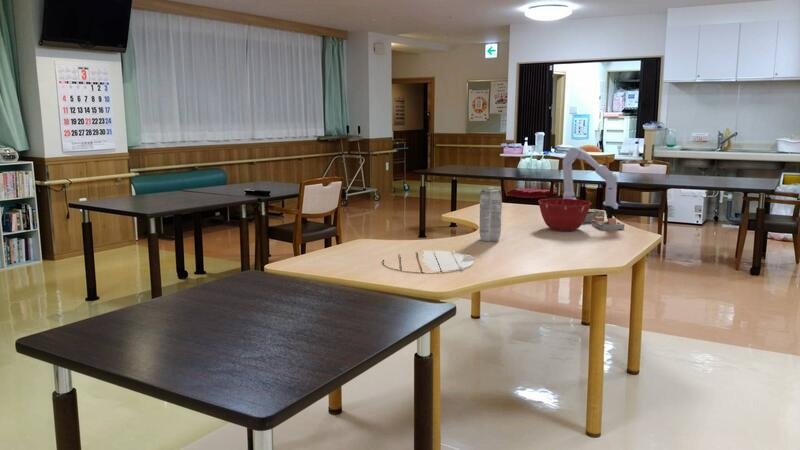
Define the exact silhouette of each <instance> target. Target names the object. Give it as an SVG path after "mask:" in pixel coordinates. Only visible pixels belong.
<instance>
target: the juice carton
mask: <svg viewBox="0 0 800 450" xmlns="http://www.w3.org/2000/svg"><path fill="white" fill-rule="evenodd" d="M479 197H480V199H479V237H480V241H482V242H495V243H496V242H499V239H500V237H501V232H502V207H503V206H502V203H503V202H502V201H503V200H502V198H503V197H502V190H501V189H500V188H495V186H488V188H482V189H481V191H480V195H479Z"/></svg>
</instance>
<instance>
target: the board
mask: <svg viewBox="0 0 800 450" xmlns="http://www.w3.org/2000/svg"><path fill="white" fill-rule="evenodd" d="M596 223H599V224H602V225H608V220H607V219H604V221H595V220H592V222H591V226H592V227H595V228H596Z"/></svg>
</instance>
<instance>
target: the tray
mask: <svg viewBox="0 0 800 450" xmlns="http://www.w3.org/2000/svg"><path fill="white" fill-rule="evenodd" d="M595 228H596V229H598V230H601V231H611V230H612V231H614V230H615V231H616V230H617V231H618V229H624V230H625V224H624V223H621V222H619V221H616V224H615V225H602V224H599V223H596V227H595Z"/></svg>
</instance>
